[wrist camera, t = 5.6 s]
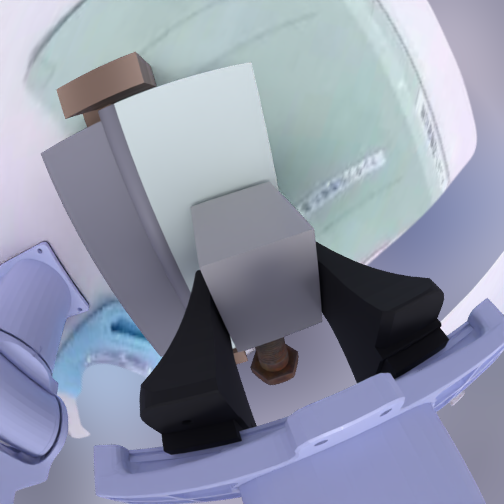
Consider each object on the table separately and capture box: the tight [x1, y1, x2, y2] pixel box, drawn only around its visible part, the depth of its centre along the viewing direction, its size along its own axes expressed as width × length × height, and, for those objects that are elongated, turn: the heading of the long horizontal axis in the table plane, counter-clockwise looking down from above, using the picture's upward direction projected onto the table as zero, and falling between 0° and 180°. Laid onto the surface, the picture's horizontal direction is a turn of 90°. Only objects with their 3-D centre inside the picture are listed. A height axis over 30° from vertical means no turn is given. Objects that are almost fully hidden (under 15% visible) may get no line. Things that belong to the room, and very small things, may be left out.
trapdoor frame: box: [57, 52, 248, 364], centre depth 18 cm, size 5×22×7 cm, turn 12°
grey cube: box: [190, 182, 322, 353], centre depth 13 cm, size 4×5×5 cm
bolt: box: [251, 337, 298, 385], centre depth 27 cm, size 6×5×15 cm
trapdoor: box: [41, 62, 279, 357], centre depth 16 cm, size 11×18×3 cm, turn 12°
